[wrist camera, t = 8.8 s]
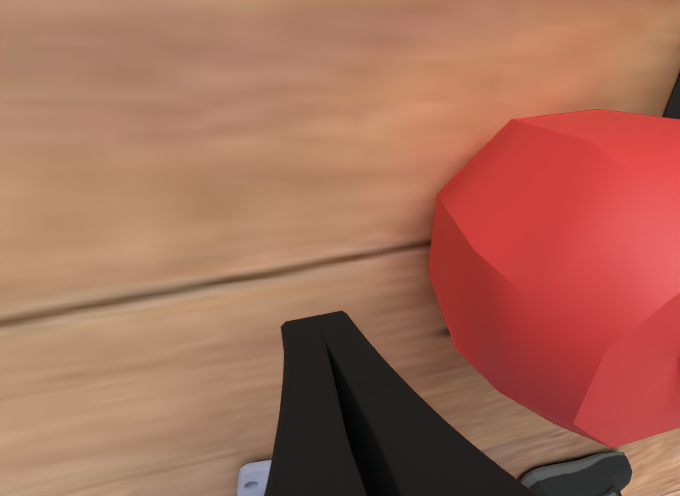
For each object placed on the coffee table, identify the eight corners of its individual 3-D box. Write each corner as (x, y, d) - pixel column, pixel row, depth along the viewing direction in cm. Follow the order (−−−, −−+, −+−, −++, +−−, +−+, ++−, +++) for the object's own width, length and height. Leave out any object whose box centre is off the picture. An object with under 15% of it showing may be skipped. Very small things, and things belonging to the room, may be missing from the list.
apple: (474, 26, 11) (876, 147, 4) (672, 119, 14) (1071, 266, 8) (353, 286, 14) (481, 560, 8) (533, 312, 18) (727, 523, 11)
